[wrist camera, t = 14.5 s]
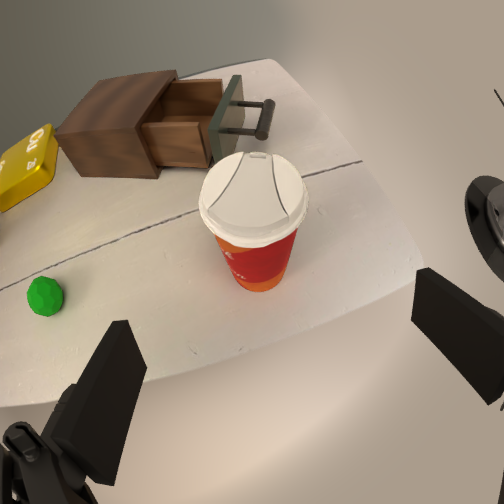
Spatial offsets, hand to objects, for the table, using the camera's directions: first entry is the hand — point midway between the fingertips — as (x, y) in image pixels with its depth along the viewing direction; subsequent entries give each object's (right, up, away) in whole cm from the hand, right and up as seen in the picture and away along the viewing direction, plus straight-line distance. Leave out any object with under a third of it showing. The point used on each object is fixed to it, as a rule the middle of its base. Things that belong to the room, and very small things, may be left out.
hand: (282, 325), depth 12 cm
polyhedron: (-27, -3, +19) cm, 33 cm away
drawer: (-8, +19, +27) cm, 34 cm away
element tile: (-45, +19, +31) cm, 57 cm away
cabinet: (-20, +20, +30) cm, 41 cm away
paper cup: (-1, +1, +20) cm, 20 cm away
